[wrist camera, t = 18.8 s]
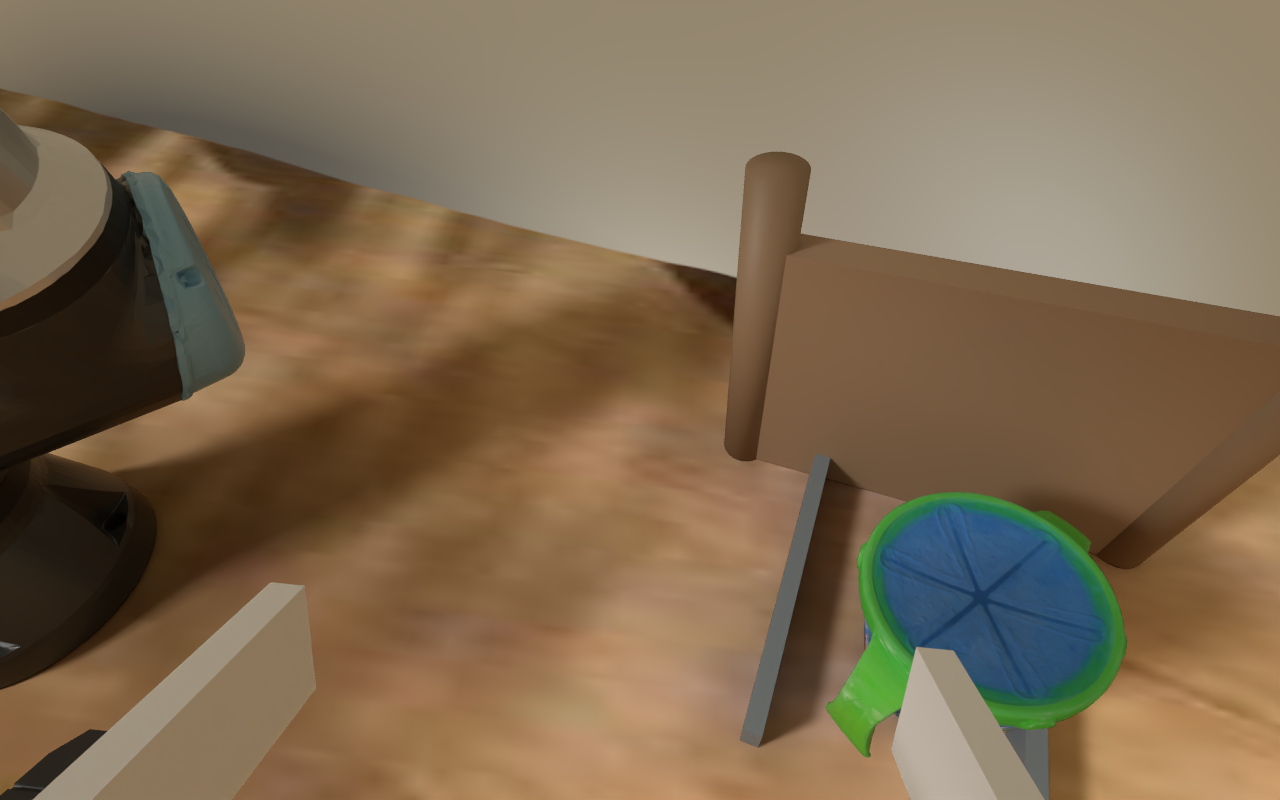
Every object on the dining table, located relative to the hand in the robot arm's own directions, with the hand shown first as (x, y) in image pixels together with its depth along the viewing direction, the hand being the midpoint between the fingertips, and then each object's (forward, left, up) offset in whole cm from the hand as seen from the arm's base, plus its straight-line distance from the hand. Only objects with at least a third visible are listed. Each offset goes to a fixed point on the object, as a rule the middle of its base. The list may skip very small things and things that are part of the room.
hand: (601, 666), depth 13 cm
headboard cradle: (+10, +15, -24) cm, 30 cm away
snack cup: (+13, +12, -24) cm, 29 cm away
